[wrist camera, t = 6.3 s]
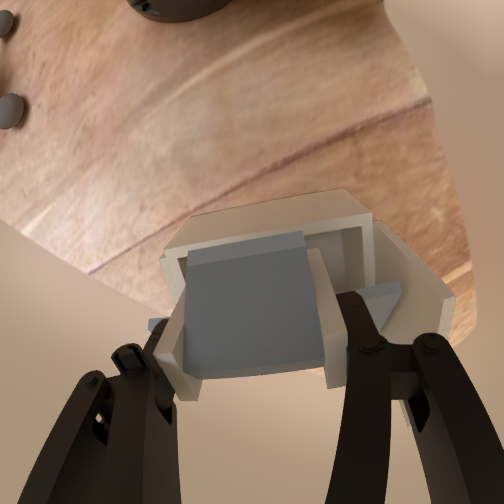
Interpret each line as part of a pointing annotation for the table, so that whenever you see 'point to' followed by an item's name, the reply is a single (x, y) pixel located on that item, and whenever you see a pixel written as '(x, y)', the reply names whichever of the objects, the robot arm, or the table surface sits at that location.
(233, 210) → the carton
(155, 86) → the table surface
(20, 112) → the molecular model
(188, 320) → the flap
